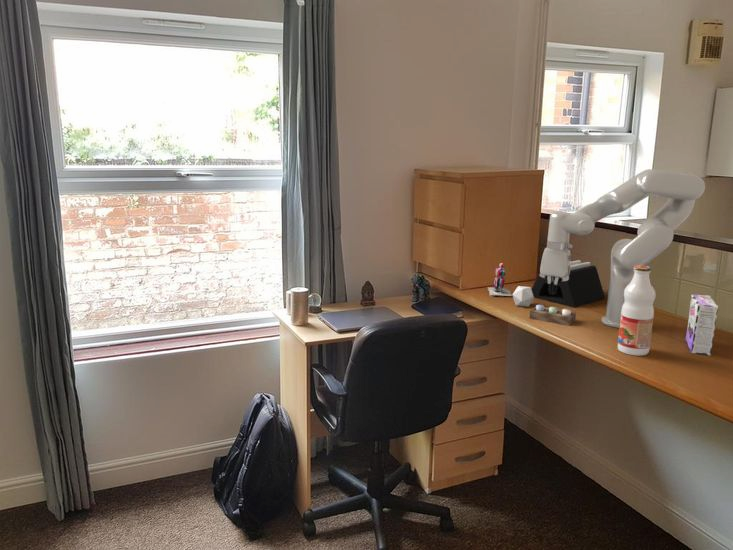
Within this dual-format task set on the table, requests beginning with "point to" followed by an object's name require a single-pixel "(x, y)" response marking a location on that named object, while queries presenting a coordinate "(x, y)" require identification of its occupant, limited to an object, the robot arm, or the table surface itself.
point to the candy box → (701, 324)
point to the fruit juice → (637, 314)
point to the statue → (499, 284)
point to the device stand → (572, 287)
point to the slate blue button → (540, 307)
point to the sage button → (553, 310)
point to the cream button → (566, 312)
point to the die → (523, 296)
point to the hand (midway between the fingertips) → (552, 293)
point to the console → (552, 316)
